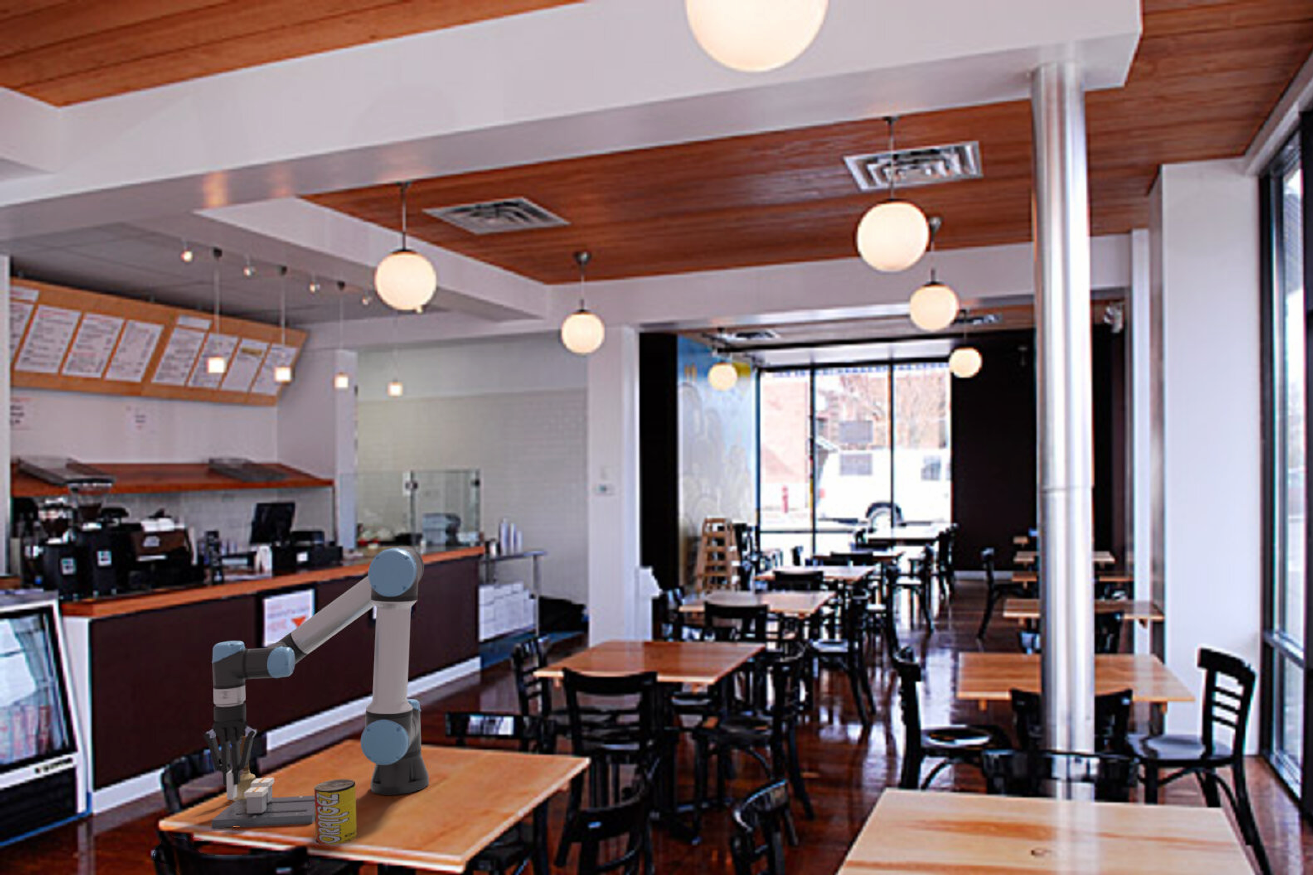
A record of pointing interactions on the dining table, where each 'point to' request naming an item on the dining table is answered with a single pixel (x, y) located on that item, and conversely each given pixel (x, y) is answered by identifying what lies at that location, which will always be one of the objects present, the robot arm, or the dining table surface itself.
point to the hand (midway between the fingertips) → (232, 797)
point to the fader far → (264, 783)
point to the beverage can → (335, 811)
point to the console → (268, 813)
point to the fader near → (256, 799)
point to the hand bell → (244, 777)
